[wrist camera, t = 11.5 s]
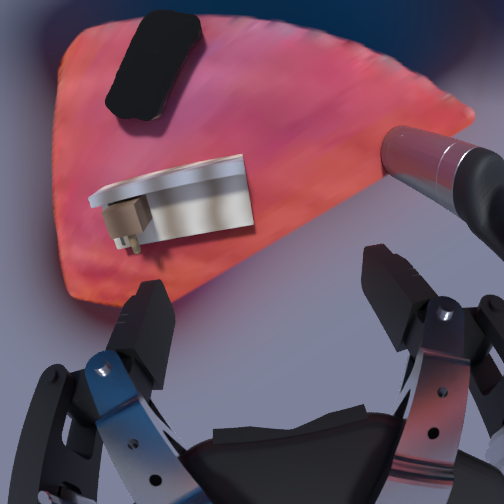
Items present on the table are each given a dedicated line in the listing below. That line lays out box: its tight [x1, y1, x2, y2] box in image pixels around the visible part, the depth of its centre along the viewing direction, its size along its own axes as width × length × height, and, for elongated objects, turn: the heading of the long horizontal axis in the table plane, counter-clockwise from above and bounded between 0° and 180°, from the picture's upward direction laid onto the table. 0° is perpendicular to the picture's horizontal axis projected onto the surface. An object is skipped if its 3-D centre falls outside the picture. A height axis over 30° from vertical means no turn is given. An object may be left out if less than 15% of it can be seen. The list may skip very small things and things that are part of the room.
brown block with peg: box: [102, 194, 153, 254], centre depth 35 cm, size 5×8×5 cm, turn 9°
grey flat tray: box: [88, 154, 254, 249], centre depth 37 cm, size 22×10×6 cm, turn 99°
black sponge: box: [105, 10, 202, 121], centre depth 28 cm, size 16×8×4 cm, turn 154°
